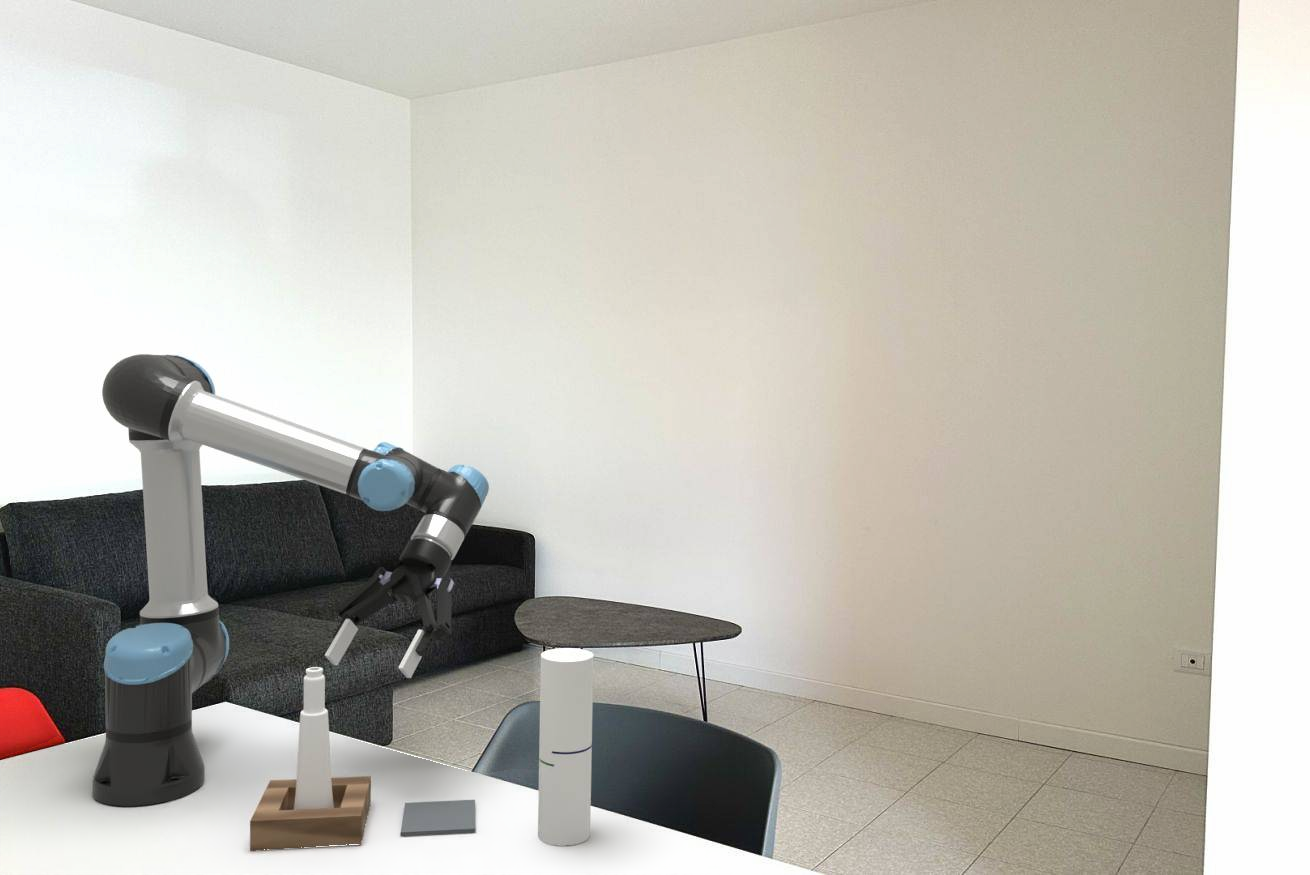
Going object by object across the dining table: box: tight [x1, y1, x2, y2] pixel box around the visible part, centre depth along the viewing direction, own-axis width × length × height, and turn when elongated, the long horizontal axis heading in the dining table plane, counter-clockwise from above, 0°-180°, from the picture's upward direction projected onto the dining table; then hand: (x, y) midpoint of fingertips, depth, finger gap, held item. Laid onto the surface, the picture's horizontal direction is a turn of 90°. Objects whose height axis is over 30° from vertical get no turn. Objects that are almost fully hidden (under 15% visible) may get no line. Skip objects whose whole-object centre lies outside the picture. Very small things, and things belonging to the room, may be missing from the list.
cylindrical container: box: [537, 647, 594, 847], centre depth 144 cm, size 7×7×25 cm
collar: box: [249, 775, 372, 852], centre depth 146 cm, size 14×14×4 cm
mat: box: [399, 799, 476, 837], centre depth 149 cm, size 10×10×1 cm
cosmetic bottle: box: [294, 666, 334, 810], centre depth 145 cm, size 6×6×22 cm
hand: (366, 667), depth 154 cm, fingers open, 13 cm apart
